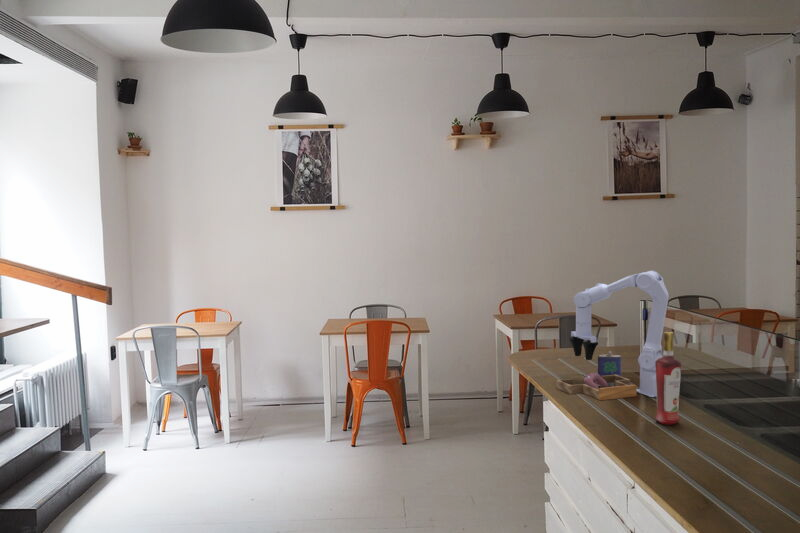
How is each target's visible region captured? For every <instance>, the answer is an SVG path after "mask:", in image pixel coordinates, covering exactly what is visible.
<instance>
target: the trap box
mask: <svg viewBox="0 0 800 533" xmlns="http://www.w3.org/2000/svg"><path fill="white" fill-rule="evenodd" d="M601 377H602V378H603V379H604V380H605V381H606V382H607V384H608V386H607V387H598V388H599V390H598V389H595V388H593V387H590V386H588V385H586V384H585V383H579V384H578V383H577V384H574V379H573V378H565V379H556V382H555V383H556V386H555V387H556V389H557V390H560V391H562V392H564V393H566V394H568V395H574V394H575V395H576V394H585V395H587V396H589V397H592V398H594V399H597V400H599V401H606V400H616V399H624V398H631V397H633V398H634V397H637V393H638V392H637V389H638V388H637V384H631V379H630V378H626V377H624V376H622V375H621V376H618V375H616V374H615V375H605V376H601Z"/></svg>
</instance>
